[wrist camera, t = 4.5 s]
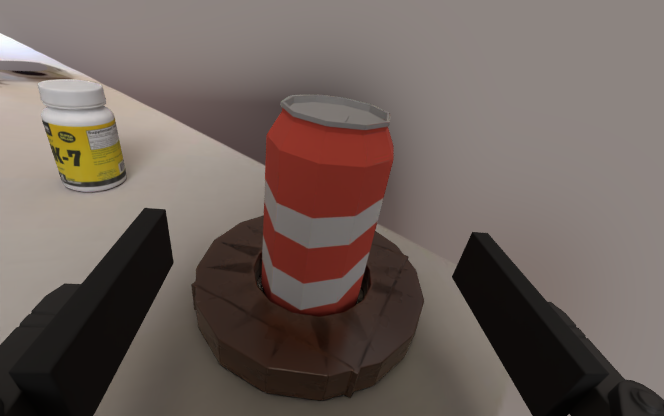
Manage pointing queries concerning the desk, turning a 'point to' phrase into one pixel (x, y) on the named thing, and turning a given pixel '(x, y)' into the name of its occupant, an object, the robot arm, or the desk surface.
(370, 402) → the desk surface
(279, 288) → the beverage can
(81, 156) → the supplement bottle
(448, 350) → the desk surface
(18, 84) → the desk surface
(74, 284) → the robot arm
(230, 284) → the socket
